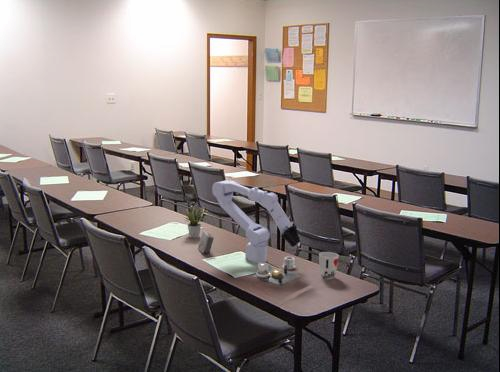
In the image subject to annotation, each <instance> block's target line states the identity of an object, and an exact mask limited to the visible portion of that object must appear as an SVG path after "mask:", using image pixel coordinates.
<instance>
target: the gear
mask: <svg viewBox="0 0 500 372" xmlns="http://www.w3.org/2000/svg"><path fill="white" fill-rule="evenodd" d="M295 264H296V263H295V257H293V256H285V257H284V258H283V264H282V268H284V265H287V270H293V269H296V268H297V266H296V265H295Z"/></svg>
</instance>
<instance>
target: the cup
mask: <svg viewBox="0 0 500 372" xmlns="http://www.w3.org/2000/svg"><path fill="white" fill-rule="evenodd" d="M318 257H319V258H318V260H319V261H318V262H319V272H320V275H321V276H322V277H323V279H324V280H333V279H334V278H335V275H336V273H337V269H338V263H339V254H338V253H336V252H333V251H322V252H320V253H318Z"/></svg>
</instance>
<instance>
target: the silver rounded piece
mask: <svg viewBox="0 0 500 372" xmlns="http://www.w3.org/2000/svg"><path fill="white" fill-rule="evenodd" d="M268 269H269V263H267V262H264V263H257V271H256V272H255V275H256V277H258V278H257V279H259V278H268V277H270V272H268ZM256 277H255V278H256Z"/></svg>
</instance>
